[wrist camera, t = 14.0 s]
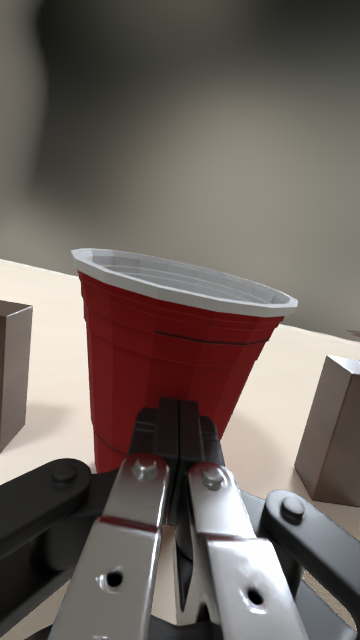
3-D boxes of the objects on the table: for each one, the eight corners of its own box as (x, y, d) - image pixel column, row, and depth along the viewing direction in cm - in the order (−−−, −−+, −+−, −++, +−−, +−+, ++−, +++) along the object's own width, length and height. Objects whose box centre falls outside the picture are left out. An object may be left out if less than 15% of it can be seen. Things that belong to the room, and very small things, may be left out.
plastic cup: (87, 632, 10) (140, 264, 8) (27, 442, 19) (44, 238, 16) (288, 516, 17) (352, 294, 14) (176, 414, 25) (204, 264, 23)
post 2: (336, 471, 21) (372, 362, 19) (361, 507, 18) (407, 382, 16) (293, 465, 21) (326, 354, 19) (312, 500, 18) (352, 373, 16)
